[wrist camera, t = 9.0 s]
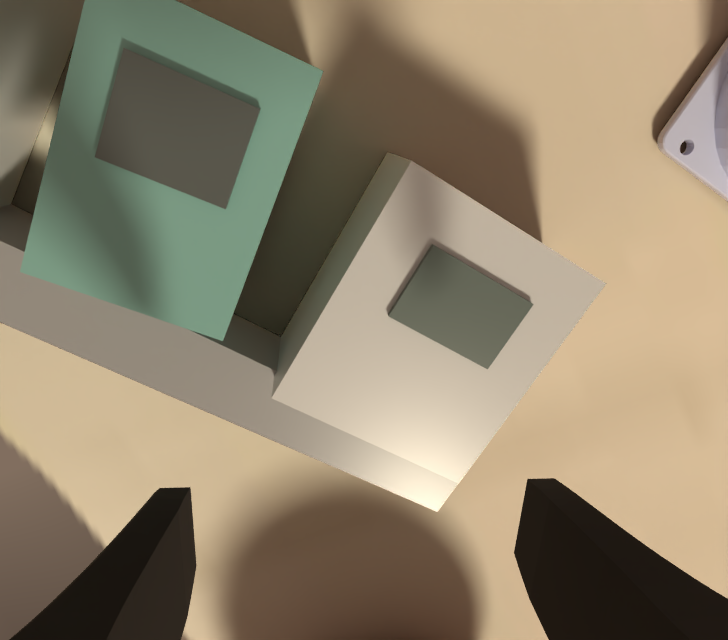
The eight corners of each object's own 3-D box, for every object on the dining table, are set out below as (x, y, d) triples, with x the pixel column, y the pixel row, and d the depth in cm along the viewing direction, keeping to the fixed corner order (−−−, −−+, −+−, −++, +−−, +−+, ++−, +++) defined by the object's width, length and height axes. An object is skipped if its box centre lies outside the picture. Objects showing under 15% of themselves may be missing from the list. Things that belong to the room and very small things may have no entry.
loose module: (317, 87, 18) (323, 70, 12) (246, 278, 20) (221, 344, 14) (165, 16, 16) (90, -42, 11) (106, 226, 18) (15, 274, 13)
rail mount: (563, 262, 20) (634, 301, 16) (421, 464, 23) (448, 545, 19) (-206, -222, 14) (-447, -384, 9) (-288, 140, 16) (-507, 147, 12)
